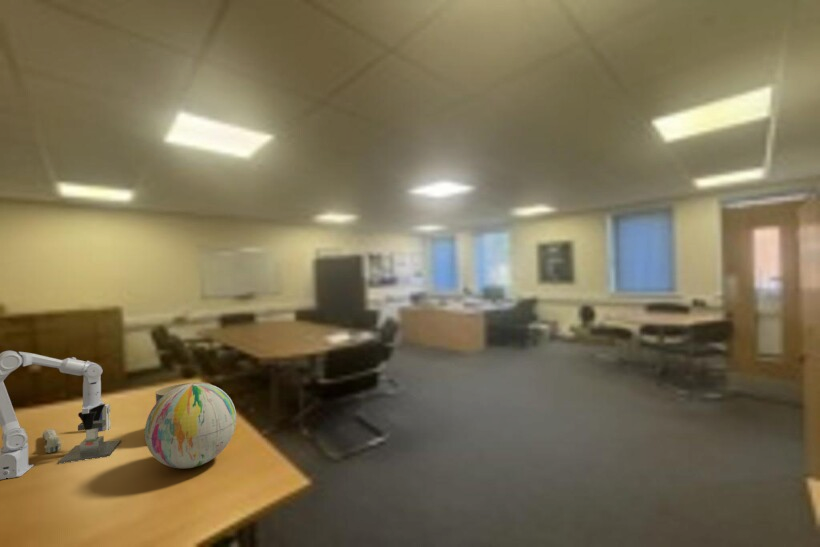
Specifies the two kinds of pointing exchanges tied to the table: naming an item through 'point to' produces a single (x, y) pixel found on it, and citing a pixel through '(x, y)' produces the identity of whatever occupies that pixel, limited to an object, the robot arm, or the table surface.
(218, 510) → the table surface
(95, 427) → the jack column
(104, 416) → the walkman
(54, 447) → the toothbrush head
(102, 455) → the jack base
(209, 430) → the globe
